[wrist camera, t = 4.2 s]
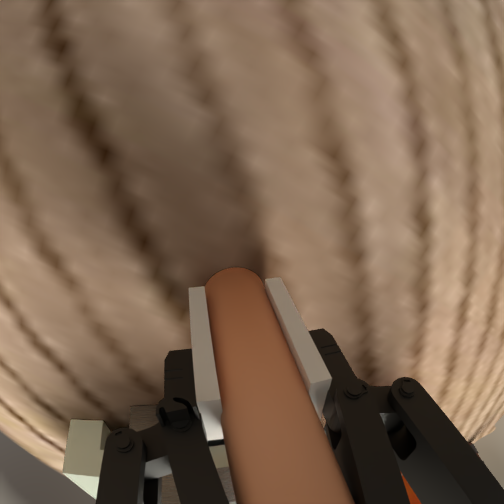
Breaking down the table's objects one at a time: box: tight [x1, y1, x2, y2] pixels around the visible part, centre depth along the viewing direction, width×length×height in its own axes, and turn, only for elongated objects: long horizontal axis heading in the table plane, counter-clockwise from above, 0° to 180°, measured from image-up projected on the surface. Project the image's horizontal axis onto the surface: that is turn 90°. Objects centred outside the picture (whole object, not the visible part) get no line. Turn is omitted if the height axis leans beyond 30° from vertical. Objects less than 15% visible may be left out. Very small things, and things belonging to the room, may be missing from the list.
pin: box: [205, 267, 355, 504], centre depth 11 cm, size 3×3×12 cm
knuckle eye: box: [62, 419, 229, 499], centre depth 20 cm, size 8×16×5 cm, turn 91°
